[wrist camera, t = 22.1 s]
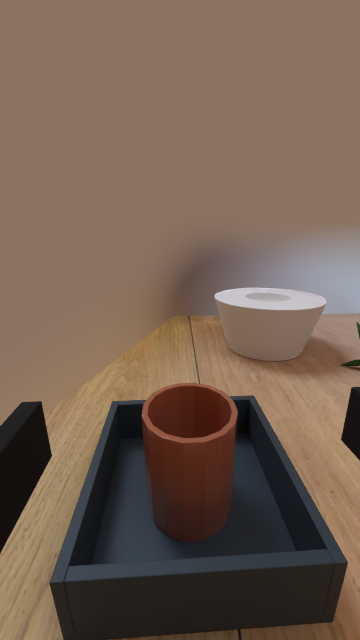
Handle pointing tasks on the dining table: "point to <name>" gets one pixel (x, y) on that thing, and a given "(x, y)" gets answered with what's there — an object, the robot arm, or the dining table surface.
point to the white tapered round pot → (268, 321)
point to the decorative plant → (354, 362)
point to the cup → (190, 459)
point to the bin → (194, 545)
